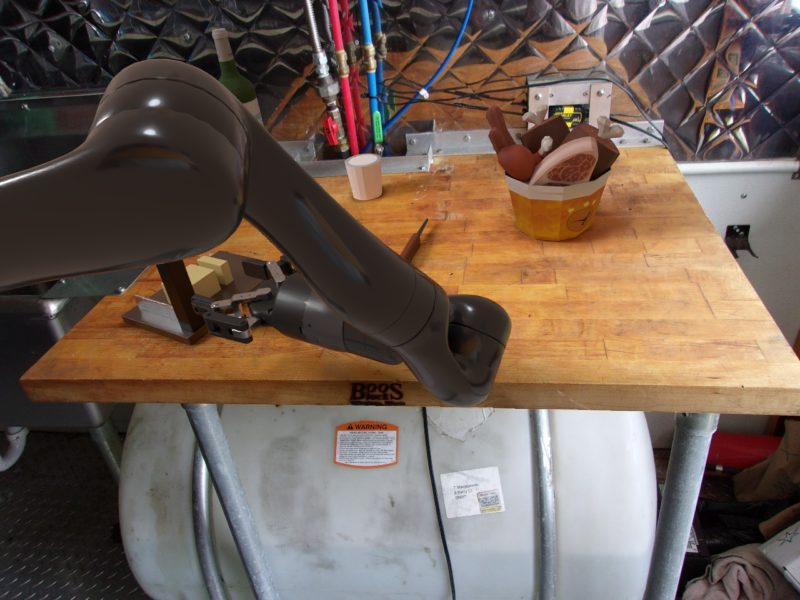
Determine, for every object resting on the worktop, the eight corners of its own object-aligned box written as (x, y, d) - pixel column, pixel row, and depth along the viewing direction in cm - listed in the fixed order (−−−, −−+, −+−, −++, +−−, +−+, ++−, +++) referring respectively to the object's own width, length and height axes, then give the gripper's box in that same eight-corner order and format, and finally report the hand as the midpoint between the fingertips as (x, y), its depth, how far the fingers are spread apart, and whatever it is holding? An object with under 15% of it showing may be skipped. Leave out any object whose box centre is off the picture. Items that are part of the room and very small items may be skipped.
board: (190, 345, 78) (188, 338, 78) (124, 322, 85) (120, 315, 84) (285, 271, 92) (283, 264, 91) (221, 256, 99) (219, 250, 98)
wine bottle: (248, 173, 130) (209, 27, 113) (281, 172, 128) (246, 23, 111) (233, 188, 124) (189, 35, 107) (267, 187, 122) (228, 32, 105)
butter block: (192, 310, 83) (184, 290, 81) (168, 303, 86) (160, 283, 84) (221, 289, 87) (214, 269, 85) (197, 283, 90) (190, 263, 88)
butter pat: (226, 285, 88) (220, 265, 86) (203, 279, 90) (196, 259, 88) (233, 280, 89) (227, 260, 87) (210, 274, 91) (203, 255, 89)
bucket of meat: (608, 202, 100) (620, 81, 88) (620, 251, 86) (636, 116, 75) (489, 204, 104) (487, 89, 93) (483, 251, 90) (479, 124, 79)
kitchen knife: (404, 272, 88) (403, 261, 87) (396, 272, 88) (394, 260, 87) (432, 224, 100) (431, 213, 99) (425, 224, 100) (424, 213, 99)
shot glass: (384, 199, 110) (379, 164, 106) (348, 203, 111) (342, 168, 107) (385, 185, 116) (381, 151, 112) (351, 188, 116) (346, 154, 113)
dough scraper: (206, 322, 80) (180, 253, 74) (193, 332, 79) (166, 262, 73) (146, 304, 86) (118, 238, 80) (133, 313, 84) (103, 246, 78)
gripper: (358, 251, 66) (252, 230, 74) (277, 321, 56) (164, 288, 64) (367, 305, 70) (266, 280, 78) (293, 379, 61) (186, 341, 68)
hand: (220, 283), depth 71 cm, fingers open, 8 cm apart
